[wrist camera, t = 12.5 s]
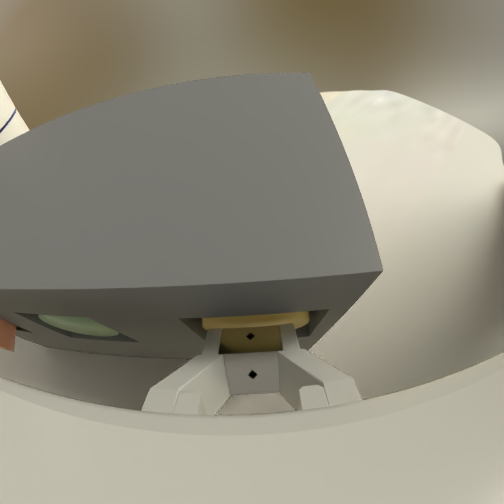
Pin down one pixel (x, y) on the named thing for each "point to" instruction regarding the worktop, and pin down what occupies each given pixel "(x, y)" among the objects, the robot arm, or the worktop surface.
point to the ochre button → (257, 320)
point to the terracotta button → (7, 335)
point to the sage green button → (78, 325)
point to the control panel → (182, 216)
